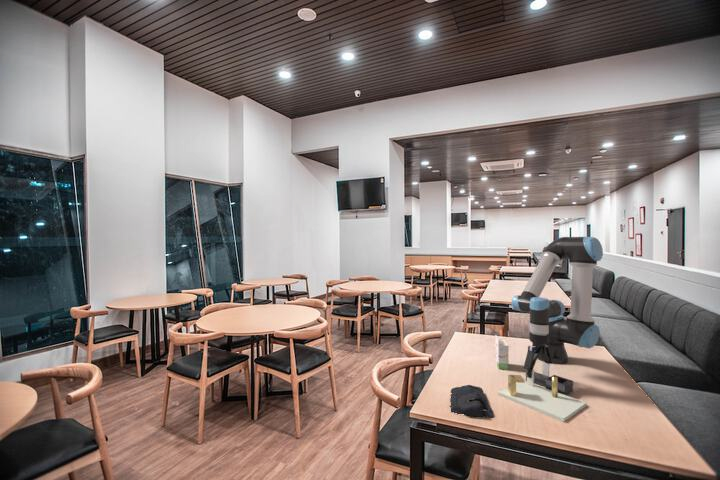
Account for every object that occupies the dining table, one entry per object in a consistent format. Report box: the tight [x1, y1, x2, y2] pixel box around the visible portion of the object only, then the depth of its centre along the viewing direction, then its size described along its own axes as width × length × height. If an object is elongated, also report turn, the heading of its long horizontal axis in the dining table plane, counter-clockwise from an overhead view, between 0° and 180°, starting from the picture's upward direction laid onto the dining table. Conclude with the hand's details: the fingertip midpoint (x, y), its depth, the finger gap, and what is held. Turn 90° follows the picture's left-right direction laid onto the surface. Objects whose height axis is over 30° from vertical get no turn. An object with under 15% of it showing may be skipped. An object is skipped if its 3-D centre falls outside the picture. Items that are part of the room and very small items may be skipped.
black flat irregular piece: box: [449, 384, 494, 419], centre depth 132 cm, size 15×22×5 cm
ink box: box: [494, 334, 510, 370], centre depth 168 cm, size 9×5×15 cm, turn 168°
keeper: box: [507, 374, 526, 396], centre depth 136 cm, size 5×5×8 cm
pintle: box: [551, 375, 558, 398], centre depth 133 cm, size 2×2×8 cm
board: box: [497, 380, 587, 423], centre depth 133 cm, size 19×25×1 cm
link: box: [525, 370, 574, 396], centre depth 145 cm, size 17×8×4 cm, turn 35°
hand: (538, 381), depth 148 cm, fingers open, 13 cm apart
